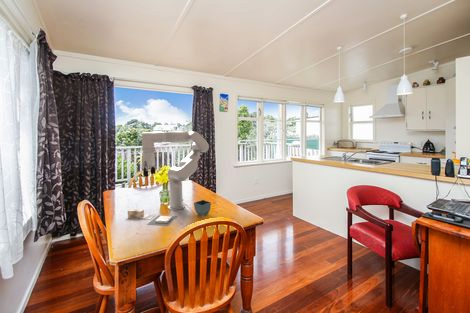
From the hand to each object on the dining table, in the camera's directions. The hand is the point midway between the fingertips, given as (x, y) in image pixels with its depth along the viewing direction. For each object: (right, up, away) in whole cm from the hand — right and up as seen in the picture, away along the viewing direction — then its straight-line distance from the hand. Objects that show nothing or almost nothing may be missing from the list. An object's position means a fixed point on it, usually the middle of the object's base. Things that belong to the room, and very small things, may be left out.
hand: (149, 175), depth 155 cm
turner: (-5, -29, -2) cm, 29 cm away
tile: (+9, -28, -8) cm, 31 cm away
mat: (+12, -29, -8) cm, 33 cm away
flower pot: (+36, -28, +3) cm, 46 cm away
